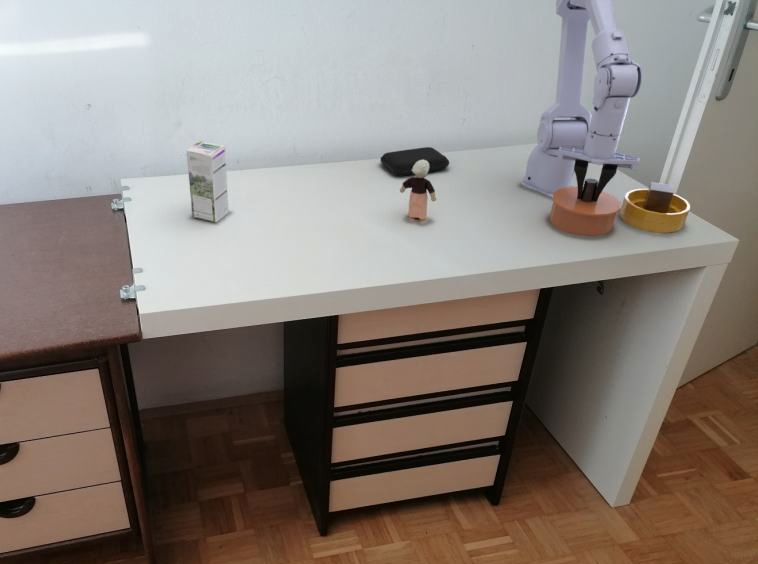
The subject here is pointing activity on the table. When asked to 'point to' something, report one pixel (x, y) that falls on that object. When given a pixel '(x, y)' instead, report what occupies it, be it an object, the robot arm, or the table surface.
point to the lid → (586, 200)
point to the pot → (580, 222)
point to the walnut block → (658, 197)
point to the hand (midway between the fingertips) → (586, 198)
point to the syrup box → (208, 181)
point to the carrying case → (413, 160)
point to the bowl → (653, 213)
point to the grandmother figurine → (419, 191)
